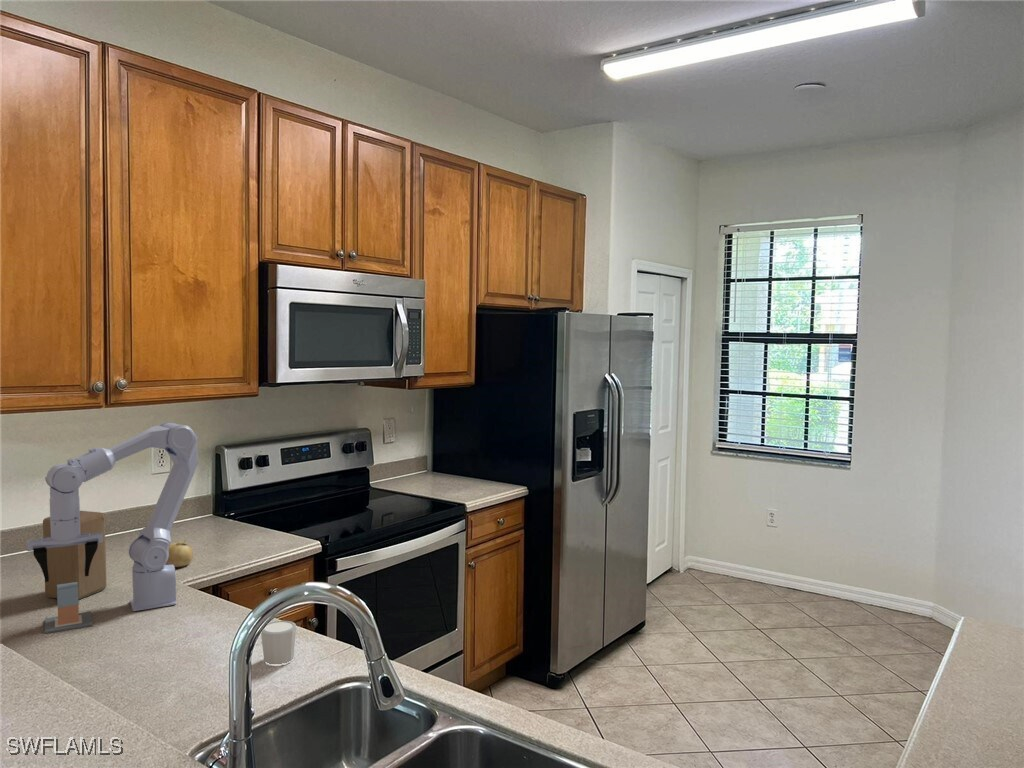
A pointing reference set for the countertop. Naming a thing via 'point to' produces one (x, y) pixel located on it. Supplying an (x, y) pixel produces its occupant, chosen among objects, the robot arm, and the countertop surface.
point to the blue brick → (67, 594)
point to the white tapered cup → (278, 642)
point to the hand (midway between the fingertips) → (67, 577)
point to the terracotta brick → (68, 614)
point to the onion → (179, 554)
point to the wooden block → (77, 559)
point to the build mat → (53, 626)
